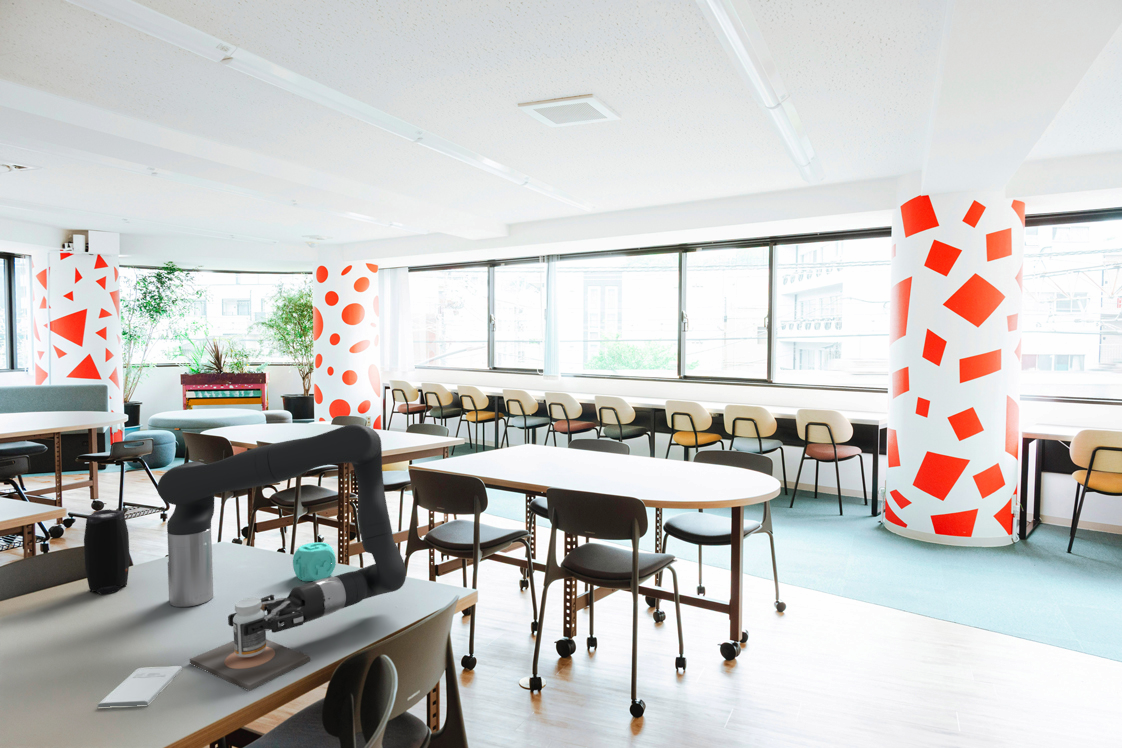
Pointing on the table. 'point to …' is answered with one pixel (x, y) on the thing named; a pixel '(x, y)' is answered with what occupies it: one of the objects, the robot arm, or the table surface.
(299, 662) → the dark grey flat slab
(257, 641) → the pill bottle
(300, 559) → the decorative dice
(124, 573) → the portable speaker
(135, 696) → the external hard drive
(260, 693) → the table surface
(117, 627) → the table surface
